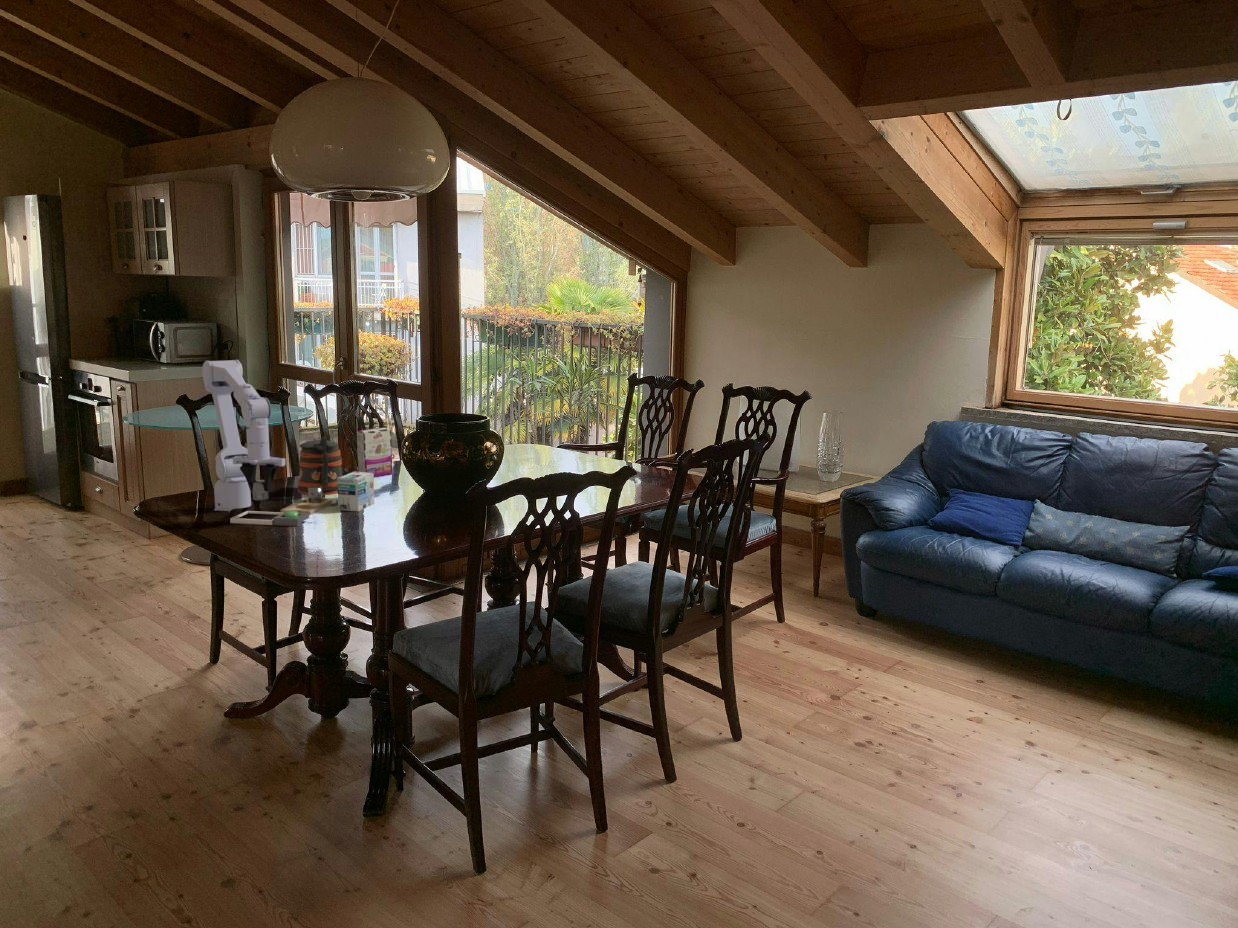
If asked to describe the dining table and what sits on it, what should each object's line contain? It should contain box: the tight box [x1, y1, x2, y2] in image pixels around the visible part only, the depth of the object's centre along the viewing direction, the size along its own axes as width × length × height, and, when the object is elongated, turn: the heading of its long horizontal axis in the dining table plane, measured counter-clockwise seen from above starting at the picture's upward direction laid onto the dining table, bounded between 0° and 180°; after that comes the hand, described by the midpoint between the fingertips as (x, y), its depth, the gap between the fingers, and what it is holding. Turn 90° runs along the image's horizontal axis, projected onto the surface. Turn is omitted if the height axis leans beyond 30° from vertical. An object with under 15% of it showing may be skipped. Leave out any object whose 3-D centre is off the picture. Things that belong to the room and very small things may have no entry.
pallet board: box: [279, 496, 337, 516], centre depth 273 cm, size 9×17×2 cm, turn 173°
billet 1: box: [252, 479, 269, 501], centre depth 260 cm, size 4×4×5 cm
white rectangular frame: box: [229, 510, 282, 526], centre depth 261 cm, size 12×9×2 cm
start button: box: [284, 511, 298, 518], centre depth 258 cm, size 4×4×2 cm
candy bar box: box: [356, 427, 393, 478], centre depth 325 cm, size 11×5×16 cm, turn 138°
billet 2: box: [307, 486, 324, 503], centre depth 277 cm, size 4×4×5 cm
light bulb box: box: [337, 471, 375, 512], centre depth 275 cm, size 11×7×11 cm, turn 168°
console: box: [272, 512, 310, 527], centre depth 258 cm, size 7×7×2 cm
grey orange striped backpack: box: [297, 436, 343, 496], centre depth 293 cm, size 19×15×20 cm
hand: (260, 490), depth 260 cm, fingers closed on billet 1, 4 cm apart
